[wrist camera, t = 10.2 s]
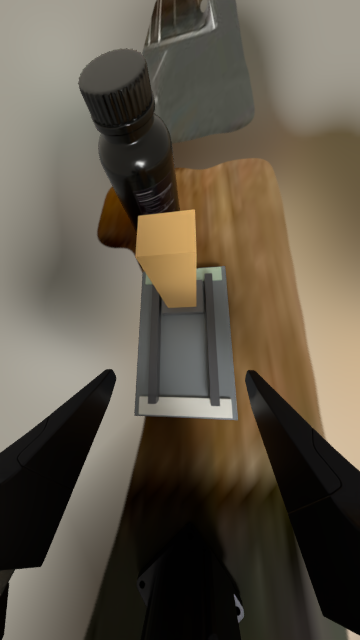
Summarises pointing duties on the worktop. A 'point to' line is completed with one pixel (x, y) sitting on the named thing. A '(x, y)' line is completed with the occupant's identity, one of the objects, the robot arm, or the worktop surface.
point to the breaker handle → (171, 260)
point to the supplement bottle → (130, 133)
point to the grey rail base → (186, 355)
